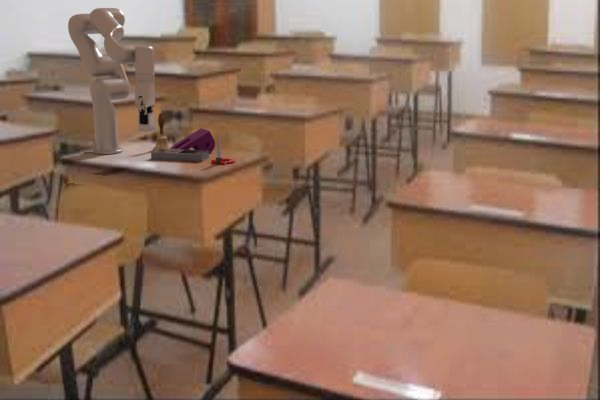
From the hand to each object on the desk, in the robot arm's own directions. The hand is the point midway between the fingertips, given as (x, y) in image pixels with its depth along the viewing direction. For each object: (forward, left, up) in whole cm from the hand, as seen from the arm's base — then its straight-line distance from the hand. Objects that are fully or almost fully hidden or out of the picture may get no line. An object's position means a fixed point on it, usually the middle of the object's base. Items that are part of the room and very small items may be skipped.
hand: (146, 122), depth 302 cm
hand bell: (-5, +27, -16) cm, 32 cm away
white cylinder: (0, 0, -3) cm, 3 cm away
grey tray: (+10, +9, -16) cm, 21 cm away
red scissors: (+30, +6, -16) cm, 35 cm away
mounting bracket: (+10, +23, -16) cm, 30 cm away
